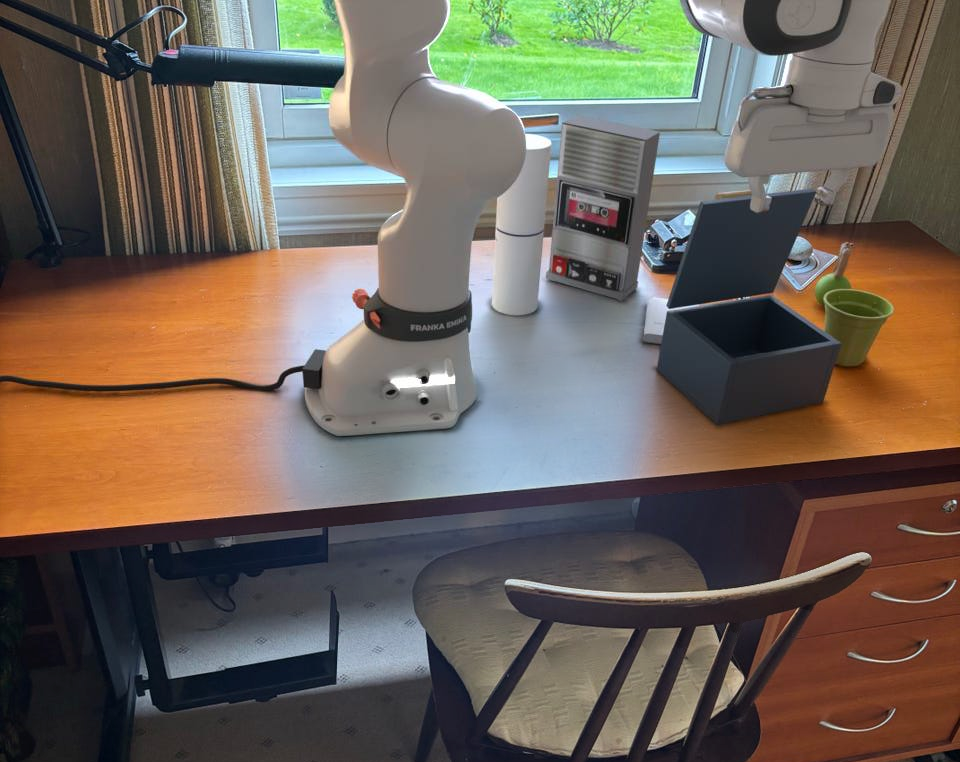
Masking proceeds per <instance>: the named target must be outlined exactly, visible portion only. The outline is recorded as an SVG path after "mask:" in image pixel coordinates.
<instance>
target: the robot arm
mask: <svg viewBox="0 0 960 762" xmlns="http://www.w3.org/2000/svg"><path fill="white" fill-rule="evenodd" d="M679 3H680V6H681V9H682V12H683V14H684V16H685V18H686V20H687V21H688V23H689V25H690V26H692V27H693V29H695V30H696V31H697V32H699V33H701V34H702V35H705V36H709V37H712V38H716V39H721V40H723V41H726V42H729V43H731V44H734V45H736V46H738V47H741V48H743V49H746V50H749V51H751V52H753V53H756V54H759V55H761V56H770V57H777V56H778V57H779V56H787V58H786V62H785V66H784V70H783V75H782V80H781V83H780V85H776V86H770V87H769V86H768V87H767V86H758V87H755V88H753V90H752V91H751V92H750V93H748V94H747V95H746V96H745V97H744V98H742V99H741V101H740V104H739V107H738V111H737V115H736V118H735V121H734V124H733V126H732V129H731V133H730V135H729V138H728V141H727V145H726V149H725V152H724V157H723V162H724V165H725V167H726V169H727V170H728V171H729V172H731V173H732V174H734V175H737V176H738V177H741V178H747V183H748V186H749V190H751V193H752V198H751V203H750V208H751V210H753V211H754V212H756V213H758V212H766V211H768V210H769V205H770V203H771V199H772V198H771V197H770V196H767V195H766V194H767V193H766V189H765V185H768V184H769V181H770V178H771V176H776V175H788V174H798V173H811V172H823V171H828V172H829V173H831V174H830V175H829V177H828V178H827V180H826V181H825V183H824V184H823V186H820V187H817V188H816V194H815V197H814V202H815V204H817V205H819V206H821V207H825V206H832V205H834V203H835V201H836V196H837V194H838V192H839V190H840V189H841V188H842V187H843V186H844V184H845V183H846V182H847V181H848V179H850V176H851V172H852V169H857V168H867V167H868V168H869V167H874V166H875V165H876V164H877V163H878V162H879V161H880V160H881V158H882V157H883V156H884V153H885V151H886V148H887V144H888V141H889V138H890V134H891V131H892V127H893V123H894V118H895V117H894V116H895V112H894V111H895V110H894V107H893V106H892V105H895V104H897V103H898V101H899V99H900V97H901V95H902V94H901V93H902V90H903V88H902V85H901V84H900V83H897V82H896V81H893V80H891V79H889V78H887V77H885V76H882V75H879V74H877V72H876V71H874V70H871V69H872V67H873V62H874V60H875V53H876V52H875V49H876V48H875V45H876V38H877V34H878V32H879V29H880V27H881V25H882V24H883V22H884V21H885V18H886V16H887V13H888V10H889V7H890V4H891V0H679ZM333 4H334V7H335V11H336V16H337V19H338V22H339V26H340V31H341V35H342V36H341V37H342V43H343V50H344V51H343V52H344V69H343V75H342V76H341V77H340V78H339V79H338V81H337V82H336V84H335V86H334V88H333V90H332V93H331V96H330V99H329V106H328V119H329V120H328V122H329V126H330V129H331V132H332V134H333V136H334V138H335V139H336V141H337V142H338V143H339V144H340V145H341V146H342V147H343V148H344V149H346V150H347V151H348V152H350V153H351V154H352V155H353V156H354V157H356V158H357V159H359V160H360V161H362V162H363V163H364V164H367V165H369V166H370V167H374V168H376V169H378V170H381V171H383V172H386V173H389V174H392V175H394V176H397V177H400V178H402V179H403V180H404V183H405V185H406V196H405V202H404V205H403V208H402V209H401V210H399V211H398V212H396V213H394V214H393V215H391V216H390V217H389V218H388V219H386V221H385V222H384V223H383V224H382V225H381V227H380V229H379V230H378V234H377V274H378V275H377V276H378V277H377V278H378V280H377V281H378V288H377V289H376V290H375V292H374V294H372V296H370V295H369V293H368V292H367V291H366V290H365V289H364V288H358V289H357V288H356V289H355V290H354V291H353V293H351V299H352V301H353V303H354V304H355V306H356V308H357V309H360V310H363V319H362V320H361V321H360V322H358V323H357V324H356V325H354V327H352V328H351V329H350V330H349V331H347V332H346V333H345V334H344V335H342V336H341V337H340V338H338V339H337V340H336V341H333V343H331V344H330V345H329V346H328V347H327V349H326V350H325V349H317V348H315V349H314V350H313V352H312V353H311V354H310V356H309V357H308V360H307V361H306V362H305V364H304V365H297V366H293V367H290V368H287V369H285V370H284V371H282V372H281V373H280V375H279V377H278V378H277V381H276V382H274V383H272V384H268V385H259V384H253V383H248V382H245V381H242V380H237V379H232V378H226V377H209V378H208V377H205V378H204V377H203V378H194V379H193V378H192V379H184V380H183V379H182V380H175V381H164V382H150V383H148V382H147V383H131V384H130V383H129V384H80V383H79V384H78V383H68V382H60V381H59V382H57V381H50V380H49V381H48V380H36V379H29V378H24V377H20V376H15V375H4V374H3V375H0V383H5V382H9V383H16V384H18V385H19V384H20V385H24V386H30V387H37V388H38V387H39V388H49V389H50V388H51V389H59V390H68V391H79V392H80V391H81V392H129V391H130V392H131V391H147V390H161V389H162V390H163V389H174V388H182V387H191V386H192V387H193V386H201V385H226V386H227V385H229V386H234V387H238V388H243V389H247V390H252V391H253V390H254V391H261V392H263V391H264V392H269V391H271V392H272V391H274V390H278V389H280V388H281V387H282V386H283V384H284V382H285V380H286V378H287V377H289V376H291V375H293V374H296V373H297V374H298V373H302V382H303V383H302V384H303V388H304V402H305V405H306V408H307V410H308V412H309V414H310V416H311V417H312V419H313V421H314V422H315V423H316V424H317V425H318V426H319V427H320V428H322V429H323V431H326V432H327V433H329V434H331V435H334V436H337V437H347V436H362V435H374V434H388V433H401V432H402V433H404V432H415V431H416V432H417V431H429V430H430V431H431V430H442V429H450V428H453V427H454V426H455V425H456V424H457V422H458V420H459V418H460V415H461V414H462V413H463V412H464V411H466V410H468V409H469V408H470V407H471V406H472V405H473V404H474V402H475V401H476V400H477V397H478V394H479V393H478V392H479V391H478V385H477V383H476V380H475V376H474V371H473V365H472V359H471V351H470V350H471V348H470V337H469V336H470V335H469V334H470V333H471V331H472V321H473V296H472V294H473V293H472V291H471V290H470V273H471V271H470V270H471V257H472V247H473V246H472V245H473V238H474V234H475V230H476V227H477V224H478V222H479V220H480V217H481V215H482V214H483V212H484V210H485V209H486V207H487V206H488V205H489V204H490V203H491V202H492V201H494V200H496V199H497V198H498V197H499V196H501V195H502V194H504V193H505V192H506V191H507V190H508V189H509V188H510V187H511V186H512V185H513V183H514V182H515V181H516V179H517V177H518V176H519V174H520V172H521V170H522V167H523V164H524V160H525V155H526V136H525V134H526V132H525V127H524V124H523V121H522V119H521V118H520V116H519V115H518V114H517V113H516V112H515V111H514V110H512V109H511V108H509V107H508V106H507V105H505V104H503V102H500V101H499V100H497V99H495V98H493V97H492V96H491V95H488V94H487V93H485V92H484V91H481V90H477V89H473V88H470V87H468V86H467V87H466V86H464V85H460V84H456V83H453V82H449V81H445V80H442V79H440V78H438V77H437V75H436V74H435V72H434V71H433V69H432V66H431V62H430V52H429V50H430V48H429V47H430V46H431V45H432V44H433V43H435V41H436V40H437V39H438V38H439V36H440V35H441V34H442V32H443V31H444V29H445V27H446V25H447V23H448V21H449V17H450V10H451V4H450V0H333Z"/></svg>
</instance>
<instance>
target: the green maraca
mask: <svg viewBox="0 0 960 762" xmlns="http://www.w3.org/2000/svg"><path fill="white" fill-rule="evenodd" d="M854 246H855V245H854V243H853V242H848V241H846V242H843V243H841V245H840V248H839V251H838V255H837V261H836V263H835V266H834V267H833V272H832V273H828V274H825V275H823V276H822V277H820V279H819V280H818V281H816V284H815V287H814V297H815V300H816V301H817V303H818V304H819V305H820V306H822V307H824V308H825V303H824V295H825V294H826V293H827V292H830V291H832V290H837V289H852V285H851V282H850V280H849V279H848V278H847V277H846V276H845V271H846V269H847V267H848V264H849V260H850V256H851V254H852V250H851V249H852V247H854Z"/></svg>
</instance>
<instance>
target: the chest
mask: <svg viewBox="0 0 960 762" xmlns="http://www.w3.org/2000/svg"><path fill="white" fill-rule="evenodd" d="M841 344H842V343H841V342H839V341H838V340H836V339H835V338H833V337H832V336H830V335H829V334H828V333H826V332H825V331H824V329H822V328H821V327H818V326H817V325H816V324H814V322H811V321H810V320H809V319H807V318H806V317H805V316H803V315H801V314H800V313H798V312H797V311H796V310H794V309H793V308H791V307H789V306H788V305H787V304H785V303H784V302H782V301H781V300H780V299H778V298H777V297H775V296H774V295H772V294H764V295H757V296H751V297H745V298H738V299H732V300H726V301H719V302H713V303H707V304H701V306H695V307H689V308H682V309H676V310H670V311H667V314H666V320H665V325H664V331H663V336H662V342H661V344H660V348H659V353H658V359H657V363H656V370H657V371H658V372H659V373H660V374H661V375H662V376H663V377H664V378H666V379H667V381H669V382H670V383H671V384H672V385H673V386H674V387H675V388H676V389H677V390H679V391H680V392H681V393H682V394H683V395H684V396H685V397H686V398H687V399H688V400H689V401H690V402H692V403H693V405H694V406H696V407H697V408H698V409H699V410H700V411H701V412H702V413H704V415H706V416H707V417H708V419H710V420H711V421H712V422H713V423H714V424H715V425H723V424H728V423H733V422H737V421H742V420H747V419H752V418H756V417H762V416H766V415H771V414H775V413H780V412H784V411H785V412H786V411H791V410H794V409H800V408H804V407H809V406H814V405H819V404H823V403H824V401H825V398H826V395H827V392H828V390H829V389H828V388H829V385H830V382H831V379H832V376H833V372H834V370H835V366H836V360H837V357H838V354H839V351H840V347H841ZM761 353H762V354H761ZM756 354H757V355H756ZM750 355H751V356H750ZM744 356H746V357H744ZM739 357H740V358H739Z"/></svg>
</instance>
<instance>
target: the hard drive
mask: <svg viewBox="0 0 960 762" xmlns="http://www.w3.org/2000/svg"><path fill="white" fill-rule="evenodd" d="M668 299H669V298H664V297H663V298H661V297H654V296H649V297H648V299H647V304H646V311H645V321H644V329H643V337H642V341H643V342H644V343H647V344H655V345H656V344H657V345H661V342H662V336H663V331H664V325H665V320H666V314H667V311H670V310H676V309H682V308H689V307H695V306H701V305H702V304H699V305H692V306H686V307H680V308H673V309H668V307H667V306H666V305H667V302H668Z"/></svg>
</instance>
